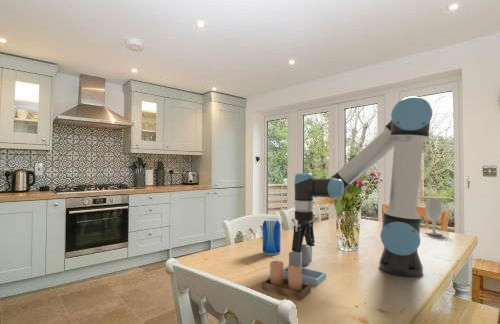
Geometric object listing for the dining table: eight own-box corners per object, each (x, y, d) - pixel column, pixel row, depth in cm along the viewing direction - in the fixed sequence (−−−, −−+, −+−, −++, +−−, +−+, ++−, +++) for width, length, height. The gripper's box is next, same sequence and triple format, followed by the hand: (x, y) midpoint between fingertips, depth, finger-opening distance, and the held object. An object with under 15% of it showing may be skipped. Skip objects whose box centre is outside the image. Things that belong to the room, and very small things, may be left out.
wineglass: (422, 232, 171) (421, 198, 172) (432, 231, 174) (432, 198, 174) (435, 236, 163) (434, 200, 164) (446, 235, 166) (445, 199, 166)
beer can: (279, 257, 126) (279, 221, 126) (261, 255, 127) (261, 220, 128) (281, 251, 134) (281, 218, 134) (264, 250, 136) (264, 217, 136)
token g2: (311, 264, 116) (311, 245, 116) (306, 267, 112) (306, 247, 112) (301, 262, 118) (301, 243, 119) (296, 265, 115) (296, 246, 115)
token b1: (302, 274, 104) (302, 253, 104) (297, 278, 100) (297, 256, 100) (292, 271, 106) (292, 250, 107) (286, 275, 103) (286, 253, 103)
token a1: (285, 286, 93) (285, 262, 94) (279, 291, 90) (279, 266, 90) (274, 283, 96) (274, 260, 96) (267, 287, 92) (267, 263, 93)
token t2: (304, 291, 89) (304, 266, 90) (298, 297, 86) (297, 270, 86) (292, 288, 92) (291, 264, 92) (285, 293, 88) (285, 268, 89)
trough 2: (326, 279, 100) (326, 272, 100) (317, 287, 94) (317, 279, 94) (291, 271, 109) (291, 264, 109) (281, 277, 102) (281, 270, 102)
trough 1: (310, 293, 90) (310, 285, 90) (300, 302, 84) (300, 294, 84) (273, 282, 98) (273, 275, 98) (261, 290, 92) (261, 282, 92)
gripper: (306, 206, 127) (306, 255, 126) (282, 212, 109) (282, 270, 109) (322, 208, 122) (322, 259, 122) (300, 214, 105) (300, 274, 104)
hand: (303, 264), depth 115 cm, fingers open, 9 cm apart
